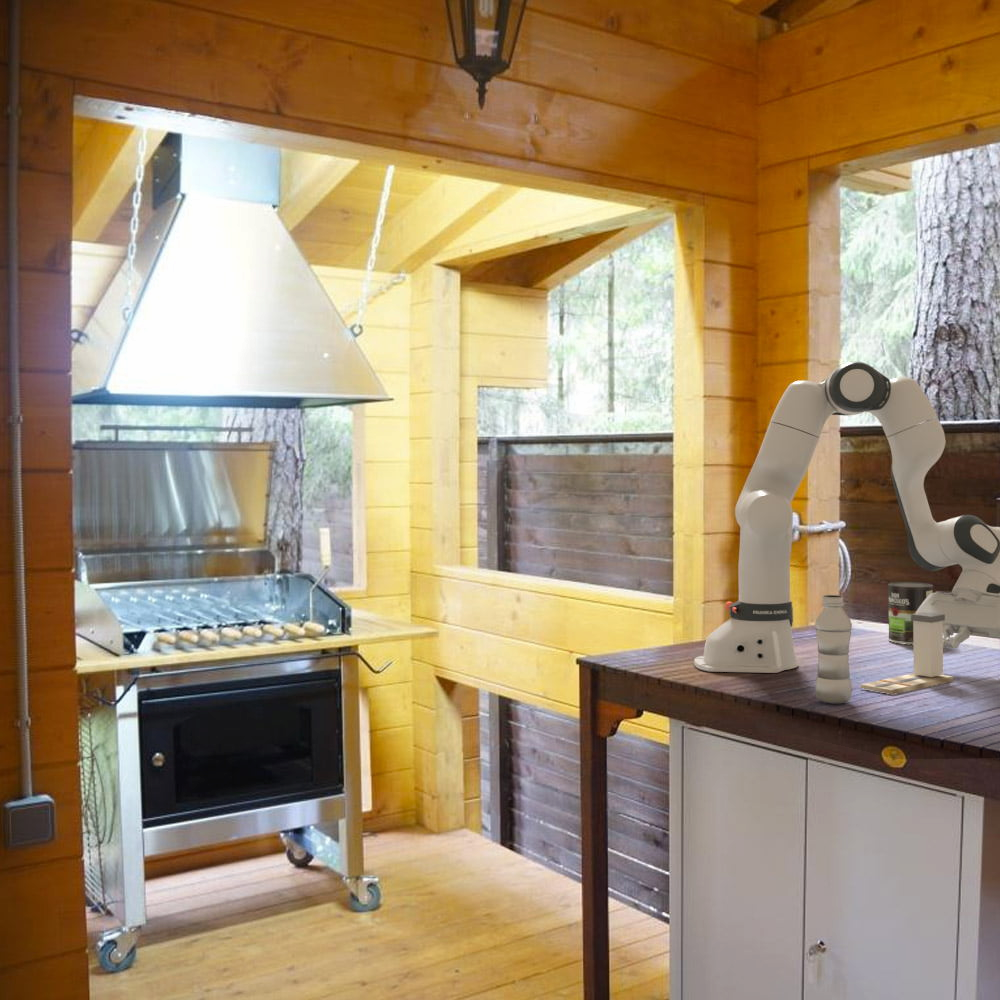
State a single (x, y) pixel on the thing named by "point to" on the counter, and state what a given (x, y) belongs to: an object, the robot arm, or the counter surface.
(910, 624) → the coffee can
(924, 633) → the slider handle
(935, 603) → the robot arm
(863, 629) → the counter surface
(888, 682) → the board
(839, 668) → the plastic bottle
